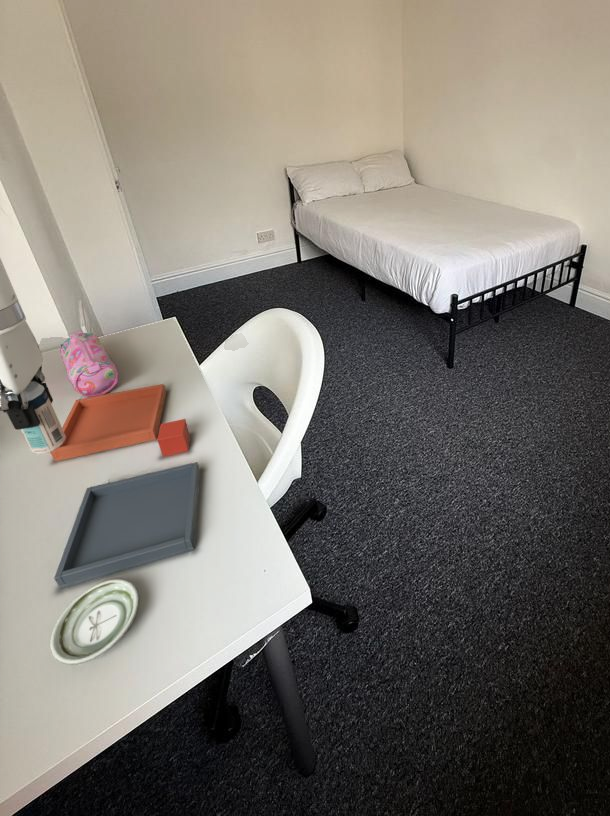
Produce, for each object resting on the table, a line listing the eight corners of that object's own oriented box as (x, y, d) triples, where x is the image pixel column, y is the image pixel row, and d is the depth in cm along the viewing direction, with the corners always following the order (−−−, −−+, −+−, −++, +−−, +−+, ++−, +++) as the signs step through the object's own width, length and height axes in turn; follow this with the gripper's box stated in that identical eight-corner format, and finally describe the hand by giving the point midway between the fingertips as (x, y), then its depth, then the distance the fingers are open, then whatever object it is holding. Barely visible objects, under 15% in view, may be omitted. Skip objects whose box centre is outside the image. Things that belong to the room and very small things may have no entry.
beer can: (65, 430, 74) (40, 375, 68) (68, 446, 71) (43, 390, 65) (31, 443, 71) (3, 387, 66) (33, 460, 68) (3, 402, 62)
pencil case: (65, 365, 107) (52, 335, 103) (106, 352, 112) (95, 323, 108) (79, 407, 93) (65, 374, 89) (125, 389, 98) (113, 358, 94)
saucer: (153, 627, 54) (148, 617, 53) (65, 694, 48) (58, 684, 47) (130, 573, 61) (125, 563, 59) (50, 627, 55) (43, 617, 54)
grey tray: (60, 589, 59) (53, 578, 58) (91, 498, 72) (86, 487, 71) (194, 550, 64) (190, 539, 62) (200, 471, 77) (197, 461, 76)
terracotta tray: (54, 461, 79) (49, 451, 78) (80, 408, 92) (76, 399, 91) (156, 439, 84) (152, 430, 83) (166, 392, 97) (163, 383, 96)
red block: (163, 457, 80) (157, 440, 78) (166, 440, 84) (160, 423, 82) (188, 451, 81) (183, 434, 79) (190, 435, 85) (185, 418, 83)
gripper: (-14, 296, 66) (29, 388, 74) (-82, 353, 51) (-20, 459, 60) (42, 290, 68) (78, 380, 76) (-8, 343, 53) (42, 447, 62)
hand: (35, 414), depth 68 cm, fingers closed on beer can, 4 cm apart
